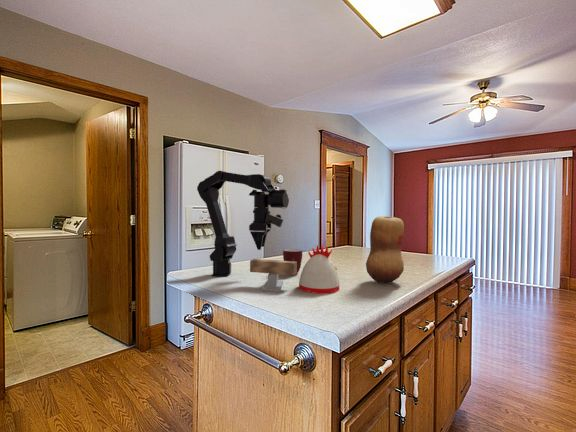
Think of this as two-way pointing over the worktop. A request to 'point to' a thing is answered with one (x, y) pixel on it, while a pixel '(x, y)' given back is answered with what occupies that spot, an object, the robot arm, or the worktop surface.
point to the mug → (293, 256)
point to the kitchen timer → (319, 273)
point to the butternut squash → (385, 249)
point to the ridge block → (272, 283)
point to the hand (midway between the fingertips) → (261, 248)
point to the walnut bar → (273, 266)
